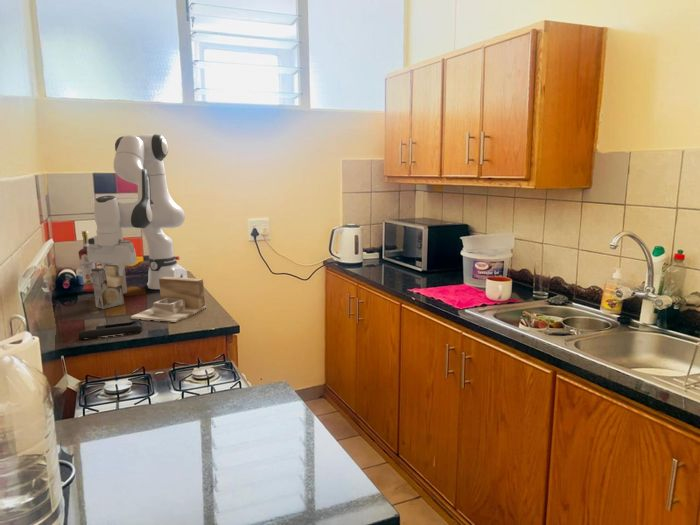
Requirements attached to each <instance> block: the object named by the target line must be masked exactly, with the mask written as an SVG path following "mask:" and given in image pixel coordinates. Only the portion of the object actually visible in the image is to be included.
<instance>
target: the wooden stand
mask: <svg viewBox="0 0 700 525" xmlns="http://www.w3.org/2000/svg"><path fill="white" fill-rule="evenodd" d="M159 284H160V289H159V292H160V293H159V294H160V300H157V301H155V302H153V303H152V307H150V308H148V309H146V310H142V311H140V312H138V313H135V314H133V315H130V319H132V320H139V319H141V320H142V321H150V320H154V321H153V322H160V321H171V322H176V321H179V320H181V319H183V318H185V319H187V318H189V317H192V316H194V315H196V314H198V313H200V312H202V311H204V310H206V309H207V306H206V303H205V291H204V290H205V289H204V278H190V277H187V278H178V277H163V278H160V279H159ZM205 308H206V309H205ZM203 309H204V310H203ZM201 310H202V311H201ZM199 311H200V312H199ZM197 312H198V313H197ZM195 313H196V314H195ZM193 314H194V315H193ZM191 315H192V316H191ZM188 316H189V317H188ZM186 317H187V318H186ZM183 320H184V319H183ZM181 321H182V320H181ZM179 322H180V321H179Z"/></svg>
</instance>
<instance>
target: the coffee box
mask: <svg viewBox="0 0 700 525" xmlns="http://www.w3.org/2000/svg"><path fill="white" fill-rule="evenodd" d="M91 270H92V279H93V286H94V292H93V293H94V294H93V295H94V300H95V301H94V302H95V307H96V308H98V309H101V310H105V309H108V308H109V309H111V308H114V307H117V306H122V305H124V304H125V303H124V302H125V301H124V294H123V291H122V285H121V286H118V287H108V286H107V278H106V274H105V270H104V269H103V267H102V266H101V267H97V268H96V269H91Z"/></svg>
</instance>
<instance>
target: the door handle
mask: <svg viewBox="0 0 700 525" xmlns="http://www.w3.org/2000/svg"><path fill="white" fill-rule="evenodd" d="M136 332H139V333H141V332H143V326H142V321H140V320H139V319H134V320H132V321H131V322H123V323H114V324H113V323H112V324H106V323H105V322H100V323H99V324H98V325H96V327H95V329H89V330H82V331H78V333H77V334H78V340H82V339H84V338H93V339H98V338H97V337H105V338H109V337H108V336H113V337H116V336H115V335H121V336H124V335H123V334H125V335H129V334H128V333H133V334H137V333H136Z"/></svg>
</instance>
